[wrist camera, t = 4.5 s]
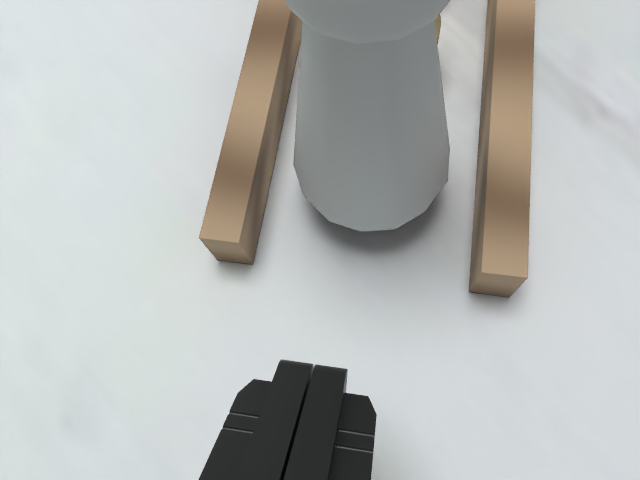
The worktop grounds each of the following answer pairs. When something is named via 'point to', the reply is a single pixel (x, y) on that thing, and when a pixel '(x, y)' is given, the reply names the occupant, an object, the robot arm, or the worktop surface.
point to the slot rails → (493, 149)
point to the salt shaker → (370, 110)
